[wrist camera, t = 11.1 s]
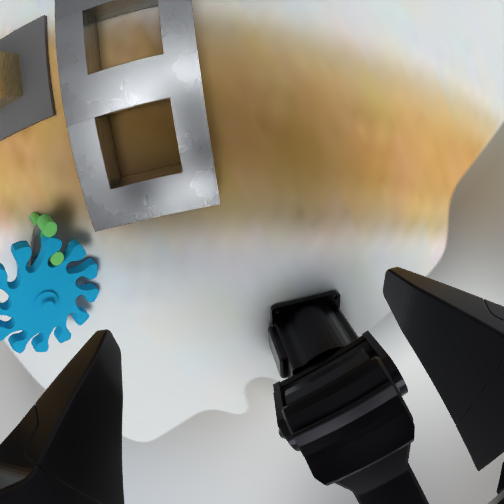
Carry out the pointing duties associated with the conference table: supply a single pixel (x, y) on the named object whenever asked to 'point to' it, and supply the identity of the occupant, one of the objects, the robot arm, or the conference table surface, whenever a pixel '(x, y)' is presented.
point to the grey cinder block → (127, 97)
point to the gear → (44, 288)
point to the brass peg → (10, 78)
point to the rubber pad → (29, 78)
